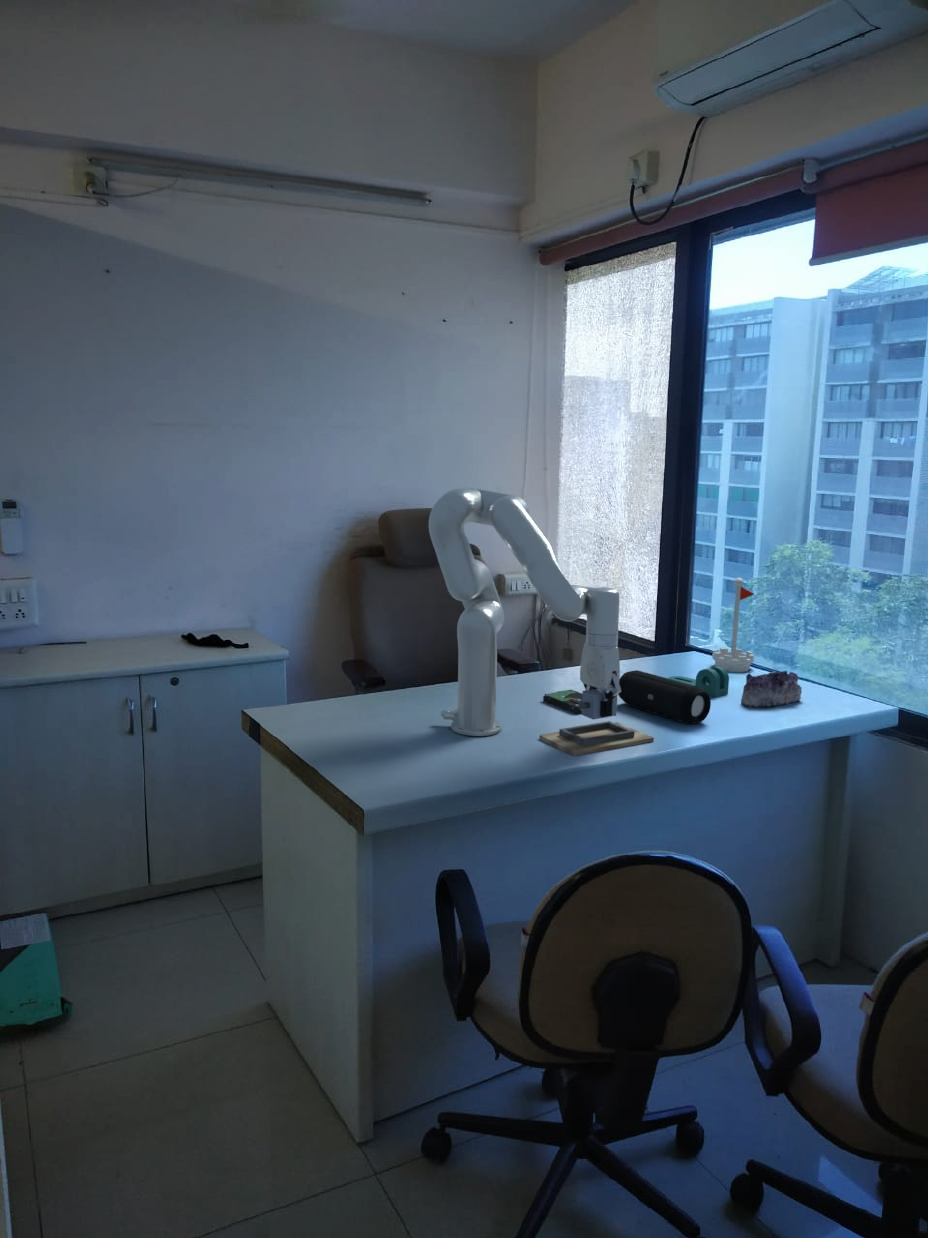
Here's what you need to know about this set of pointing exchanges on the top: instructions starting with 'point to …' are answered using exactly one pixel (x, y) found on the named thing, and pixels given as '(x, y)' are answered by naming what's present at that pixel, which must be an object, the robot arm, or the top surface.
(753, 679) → the geode
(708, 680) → the bracket
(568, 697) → the disk drive
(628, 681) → the portable speaker
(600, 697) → the connector plug
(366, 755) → the top surface
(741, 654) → the flag stand
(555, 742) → the end holder
